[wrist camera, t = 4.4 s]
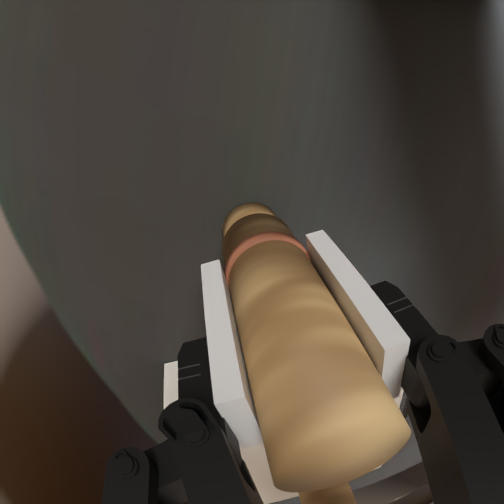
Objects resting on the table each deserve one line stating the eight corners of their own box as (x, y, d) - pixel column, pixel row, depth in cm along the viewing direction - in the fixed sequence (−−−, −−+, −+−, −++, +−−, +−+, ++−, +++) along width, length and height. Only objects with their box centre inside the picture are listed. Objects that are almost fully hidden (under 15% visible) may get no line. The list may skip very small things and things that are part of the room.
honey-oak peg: (276, 189, 16) (428, 398, 5) (288, 248, 18) (402, 459, 7) (208, 208, 16) (252, 462, 5) (226, 266, 18) (281, 502, 7)
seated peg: (309, 371, 24) (368, 519, 13) (313, 395, 26) (363, 526, 14) (265, 385, 24) (308, 538, 13) (273, 407, 26) (312, 543, 14)
